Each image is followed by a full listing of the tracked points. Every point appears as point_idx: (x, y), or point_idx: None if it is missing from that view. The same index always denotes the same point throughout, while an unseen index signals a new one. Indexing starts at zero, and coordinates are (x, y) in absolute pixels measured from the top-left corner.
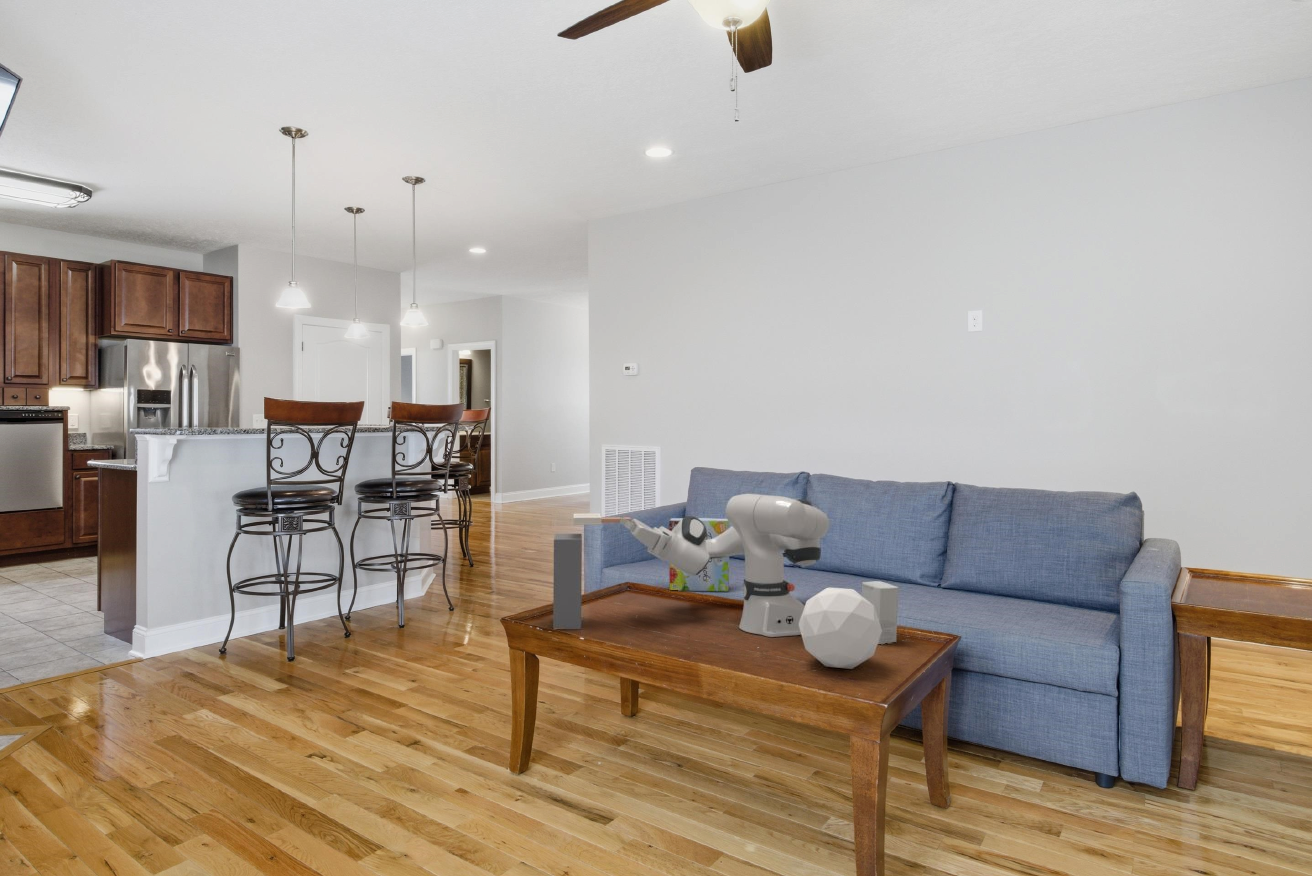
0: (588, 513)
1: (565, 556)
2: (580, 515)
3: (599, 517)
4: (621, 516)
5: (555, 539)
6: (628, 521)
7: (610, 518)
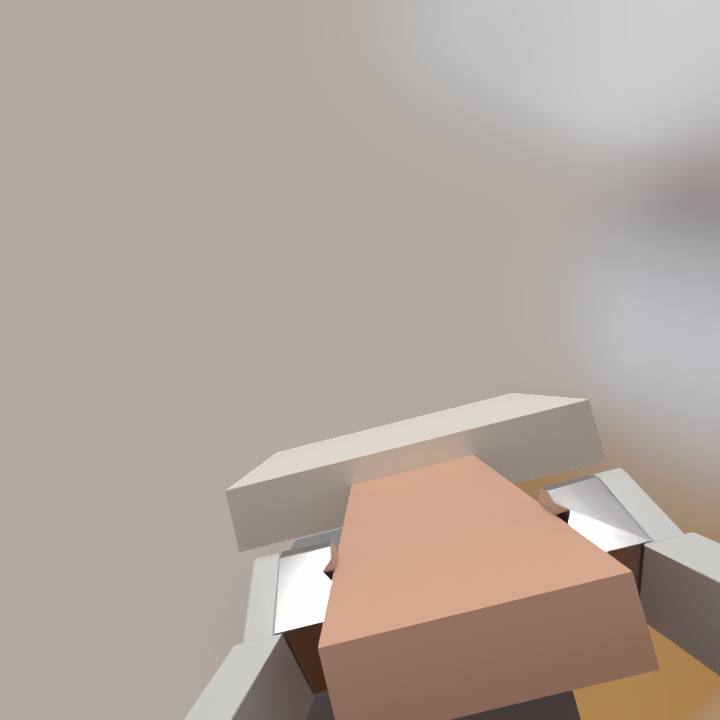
0: (544, 396)
1: None
2: (403, 425)
3: (250, 481)
4: (544, 497)
5: (297, 542)
6: (217, 681)
7: (389, 500)
